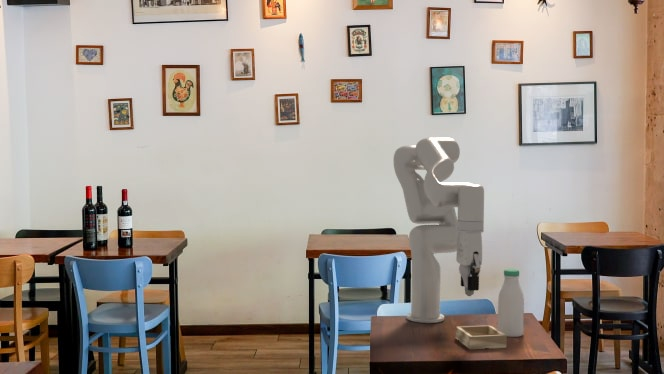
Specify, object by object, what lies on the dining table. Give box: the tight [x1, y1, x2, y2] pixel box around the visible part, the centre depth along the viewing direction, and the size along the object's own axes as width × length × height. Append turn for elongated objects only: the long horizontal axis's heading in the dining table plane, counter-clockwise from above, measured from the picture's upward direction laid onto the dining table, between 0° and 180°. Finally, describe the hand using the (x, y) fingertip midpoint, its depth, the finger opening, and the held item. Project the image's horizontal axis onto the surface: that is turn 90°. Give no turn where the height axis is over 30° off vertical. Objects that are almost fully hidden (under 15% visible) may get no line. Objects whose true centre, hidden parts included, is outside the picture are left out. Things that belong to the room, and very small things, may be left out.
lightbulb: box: [458, 264, 481, 297], centre depth 211 cm, size 6×6×11 cm
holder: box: [455, 324, 508, 350], centre depth 212 cm, size 12×11×4 cm
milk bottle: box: [497, 268, 525, 338], centre depth 221 cm, size 8×8×20 cm
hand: (469, 287), depth 211 cm, fingers closed on lightbulb, 5 cm apart
